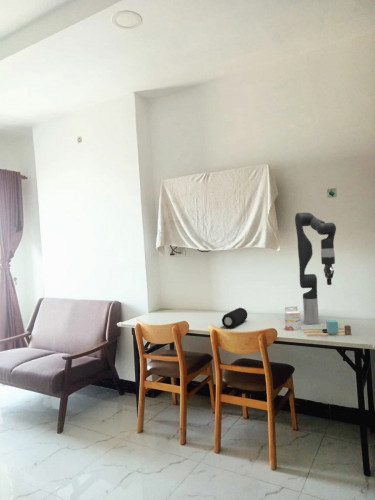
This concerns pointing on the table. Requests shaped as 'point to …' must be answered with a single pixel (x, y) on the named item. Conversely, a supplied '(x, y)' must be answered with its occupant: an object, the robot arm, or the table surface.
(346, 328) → the walnut post
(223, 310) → the table surface
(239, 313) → the portable speaker
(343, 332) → the oak board
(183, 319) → the table surface
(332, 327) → the aqua square block
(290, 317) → the ink cartridge box
